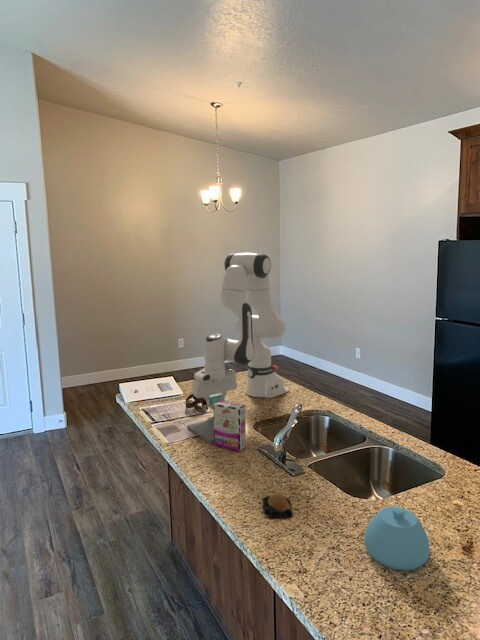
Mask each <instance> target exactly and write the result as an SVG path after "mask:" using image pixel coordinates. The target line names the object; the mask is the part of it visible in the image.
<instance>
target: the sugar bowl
mask: <svg viewBox="0 0 480 640" xmlns="http://www.w3.org/2000/svg"><path fill="white" fill-rule="evenodd" d="M363 542H364V546H365V549H366V551H367V552H368V553H369V555H370V556H371V557H372V558H373V559H374V560H375V561H377V562H378V563H379V564H380V565H382V566H384V567H386V568H388V569H392V570H395V571H400V572H401V571H403V572H405V571H407V572H408V571H413V570H416V569H418V568H421V567H422V566H423V565H424V564H426V563H427V561H428V560H429V558H430V554H431V553H430V552H431V551H430V550H431V549H430V547H431V546H430V542H429V537H428V535H427V533H426V531H425V529H424V527H423V524H422V523H421V521H420V520H419V518H418V517H417V515H415V514H414V513H413V512H411V511H410V510H408V509H405V508H402V507H400V506H387V507H384V508H382V509H380V510H378V512H377V513H376V514H375V515H374V516H373V517H372V519H371V520H370V521H369V523H368V525H367V527H366V530H365V532H364V540H363Z"/></svg>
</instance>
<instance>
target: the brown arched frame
mask: <svg viewBox="0 0 480 640" xmlns="http://www.w3.org/2000/svg"><path fill="white" fill-rule="evenodd" d="M191 399H193V400H194V401H191V402H189V401H190V400H191ZM184 403H185V408H186V410H188V409H189V410H190V409H194V408H199V407H198V406H199V405H200V404H201V406H202V407H203V406H204V407H205V408H206V410H209V407H208V405H207V400H206V399H205V398H204V397H202V398H196V397H195V396H194V395H193V393H191V394H189V395H188V396H187V397H186V398H185V401H184Z"/></svg>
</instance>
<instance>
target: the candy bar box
mask: <svg viewBox="0 0 480 640" xmlns="http://www.w3.org/2000/svg"><path fill="white" fill-rule="evenodd" d="M246 408H247V407H246V404H243V403H236V402H231V401H218V402H216V403H215V404H213V409H212V410H213V419H214V443H213V446H214V447H217V448H221V449H225V450H231V451H235V452H237V453H239V452H240V453H241V451H243V450H244V449H246V447H247V446H246V444H247V443H246V442H247V441H246V440H247V439H246V432H247V431H246V427H247V426H246V424H247V421H246V410H247V409H246Z"/></svg>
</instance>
